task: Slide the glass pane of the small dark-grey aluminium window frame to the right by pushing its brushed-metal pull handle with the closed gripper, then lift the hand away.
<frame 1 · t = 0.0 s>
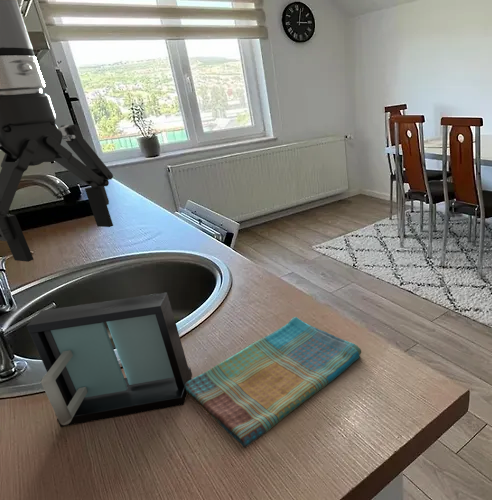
hand: (68, 241, 63), 23 cm above the worktop, tool pointing down, fingers open, 13 cm apart
pane: (78, 375, 57), point 8 cm above the worktop, slide at 0.0 cm
dish towel: (277, 376, 66), on the worktop, touching window frame
window frame: (130, 398, 63), on the worktop
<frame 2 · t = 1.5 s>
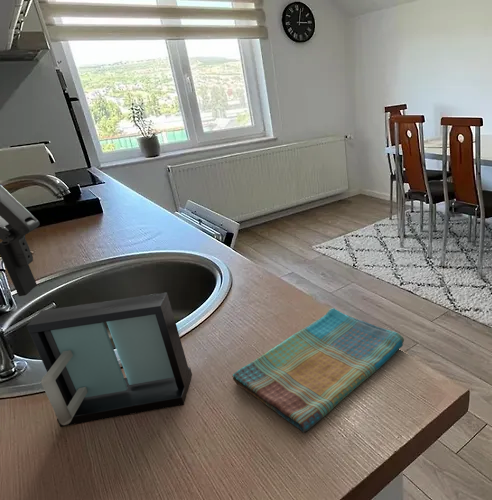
dish towel: (323, 365, 67), on the worktop
everything else where it was.
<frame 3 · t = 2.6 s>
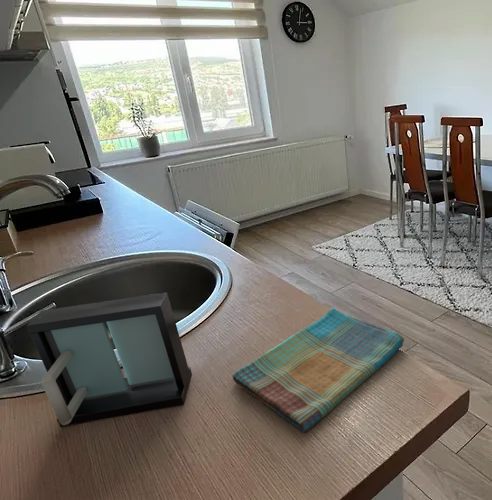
nothing on the worktop moved.
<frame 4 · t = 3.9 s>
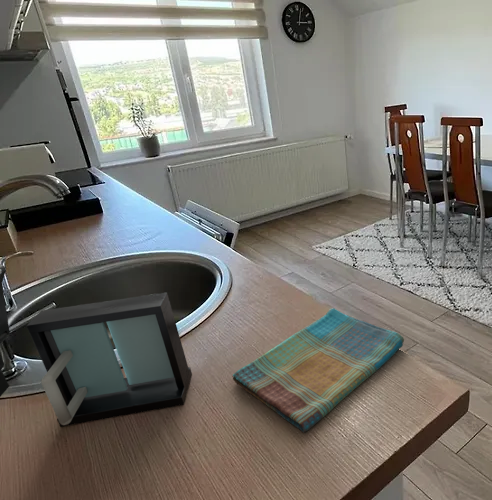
nothing on the worktop moved.
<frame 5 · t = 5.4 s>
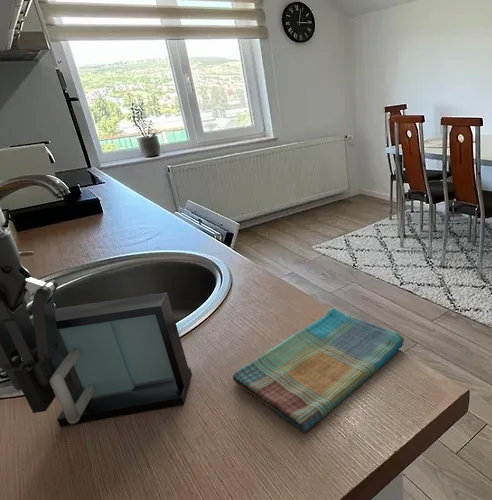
hand: (44, 404, 54), 7 cm above the worktop, tool pointing down, fingers closed
pane: (86, 374, 57), point 8 cm above the worktop, slide at 1.0 cm, touching gripper
everything else where it was.
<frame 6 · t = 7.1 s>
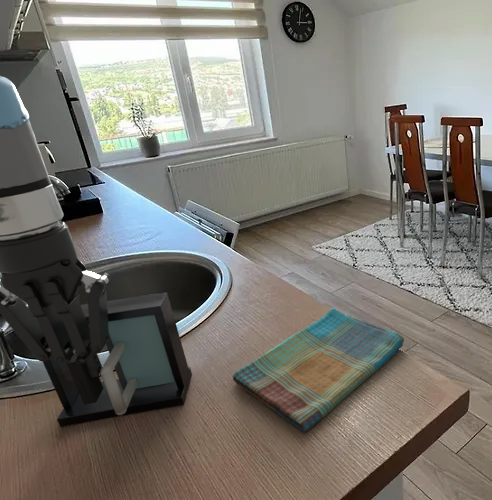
hand: (93, 396, 55), 7 cm above the worktop, tool pointing down, fingers closed
pane: (132, 366, 57), point 8 cm above the worktop, slide at 7.0 cm, touching gripper
everything else where it was.
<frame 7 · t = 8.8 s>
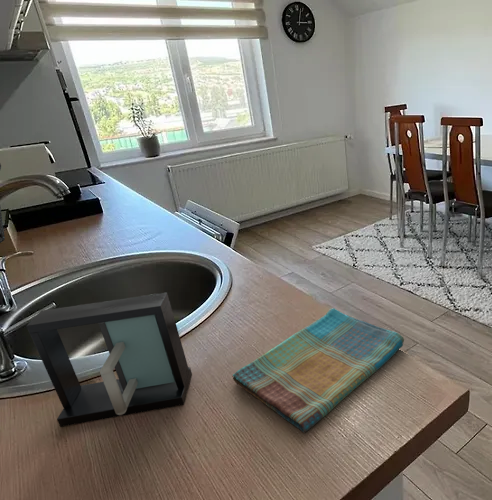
pane: (132, 366, 57), point 8 cm above the worktop, slide at 7.0 cm
everything else where it was.
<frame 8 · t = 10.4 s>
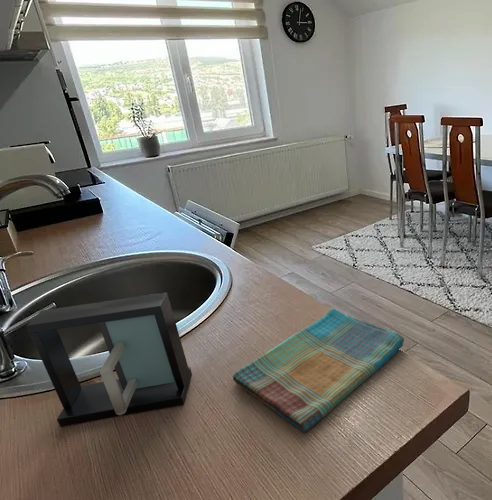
nothing on the worktop moved.
at the end: pane slide at 7.0 cm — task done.
